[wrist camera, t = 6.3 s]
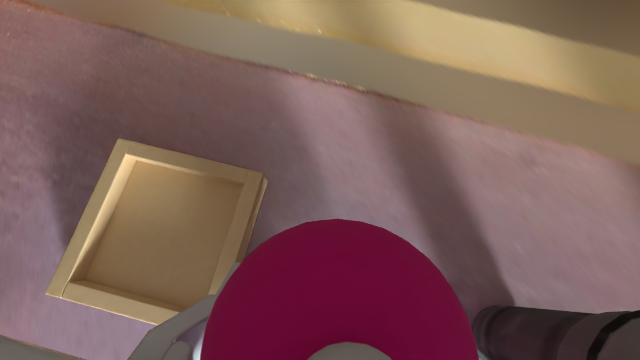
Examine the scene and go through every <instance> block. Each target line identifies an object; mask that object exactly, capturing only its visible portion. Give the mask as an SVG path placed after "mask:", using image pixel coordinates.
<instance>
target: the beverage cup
mask: <svg viewBox="0 0 640 360" xmlns="http://www.w3.org/2000/svg"><path fill="white" fill-rule="evenodd" d="M472 332H473V335H474V338H475V343H476V348H477V352H478V354H479V356H480V357H481V358H482V359H483V360H640V310H638V311H634V312H630V311H622V312H604V313H600V314H592V313H581V312H569V311H558V310H547V309H536V308H524V307H513V306H505V307H500V306H493V307H488V308H486V309H484V310H483V311H481V312H480V313H479V314H478V316H477V317H476V318H475V320H474V323H473V327H472Z"/></svg>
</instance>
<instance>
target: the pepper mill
mask: <svg viewBox="0 0 640 360" xmlns="http://www.w3.org/2000/svg"><path fill="white" fill-rule="evenodd" d="M200 360H479V359H478V353H477V348H476V343H475V338H474V335H473V332H472V329H471V327H470V324H469V321H468V318H467V315H466V313H465V311H464V309H463V308H462V306H461V304H460V302H459V300H458V298H457V296H456V294H455V292H454V291H453V289H452V287H451V286H450V284H449V283H448V282H447V280H446V279H445V277H444V276H443V275H442V273H441V272H440V270H439V269H438V268H437V267H436V266H435V265H434V264H433V263H432V262H431V260H430V259H429V258H427V257H426V256H425V255H424V254H423V253H421V252H420V251H419V250H418V249H416V248H415V247H414V246H413V245H411V244H410V243H409V242H407V241H406V240H404V239H403V238H401V237H399V236H397V235H395V234H393V233H392V232H390V231H388V230H386V229H384V228H381V227H377V226H374V225H371V224H368V223H364V222H360V221H351V220H343V219H331V220H320V221H312V222H306V223H303V224H300V225H298V226H295V227H292V228H290V229H287V230H285V231H283V232H281V233H279V234H277V235H275V236H273V237H271V238H270V239H268V240H267V241H265V242H264V243H262V244H261V245H259V246H258V247H257V248H256V249H255V250H254V251H253V252H252V253H251V254H250V255H248V256H247V257H246V258H245V259H244V260H243V261H242V263H241V264H240V265H239V266H238V268H237V269H236V270H235V271H234V273H233V274H232V275H231V276H230V278H229V279H228V281H227V282H226V284H225V286H224V287H223V289H222V291H221V292H220V294H219V296H218V297H217V299H216V300H215V303H214V306H213V308H212V311H211V314H210V316H209V319H208V322H207V324H206V328H205V333H204V338H203V343H202V348H201V353H200Z"/></svg>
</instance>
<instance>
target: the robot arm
mask: <svg viewBox="0 0 640 360" xmlns="http://www.w3.org/2000/svg"><path fill="white" fill-rule="evenodd" d="M240 264H241V263H239V262H235V263H234V264H233V266H232V267H231V269H230V271H229V273H228V274H227V276H226V278H225V279H224V281H223V283H222V284H221V286H220V288H219V289H218V291H217V293H216V295H212V294H211V295H209V296H208V297H206V298H204V299H202V300H201V301H199V302H197V303H196V304H194V305H192V306H190V307H189V308H187V309H185V310H184V311H182V312H180V313H178V314H177V315H175V316H173V317H172V318H170V319H168V320H166V321H165V322H163V323H161V324H160V325H158V326H156V327H154V328H153V329H151V330H149V331H148V332H147V334H146V335H145V337H144V338H143V339H142V341H141V342H140V343H139V345H138V346H137V347H136V349H135V350H134V351H133V353H132V354H131V355H130V357H129V358H128V359H127V360H200V353H201V348H202V343H203V338H204V333H205V328H206V324H207V322H208V319H209V316H210V314H211V311H212V308H213V306H214V303H215V300H216V299H217V297H218V296H219V294H220V292H221V291H222V289H223V287H224V286H225V284H226V282H227V281H228V279H229V278H230V276H231V275H232V274H233V273H234V271H235V270H236V269H237V268H238V266H239V265H240ZM0 360H85V359H82V358H78V357H75V356H72V355H68V354H65V353H61V352H58V351H54V350H51V349H47V348H44V347H41V346H37V345H34V344H30V343H27V342H23V341H20V340H17V339H13V338H10V337H6V336H3V335H0Z"/></svg>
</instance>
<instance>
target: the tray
mask: <svg viewBox="0 0 640 360" xmlns="http://www.w3.org/2000/svg"><path fill="white" fill-rule="evenodd" d="M267 183H268V181H267V179H266V177H265V175H264V174H263V173H262V172H258V171H254V170H249V169H245V168H241V167H237V166H233V165H229V164H225V163H220V162H216V161H212V160H208V159H204V158H200V157H196V156H192V155H187V154H183V153H179V152H175V151H171V150H167V149H163V148H159V147H155V146H150V145H146V144H142V143H138V142H134V141H130V140H125V139H121V138H118V140H117V142H116V144H115V146H114V148H113V151H112V153H111V155H110V157H109V159H108V161H107V163H106V165H105V168H104V170H103V172H102V174H101V176H100V178H99V180H98V183H97V185H96V187H95V189H94V191H93V193H92V195H91V197H90V200H89V202H88V204H87V206H86V208H85V210H84V212H83V214H82V217H81V219H80V221H79V223H78V225H77V227H76V229H75V231H74V234H73V236H72V238H71V240H70V242H69V244H68V246H67V249H66V251H65V253H64V255H63V257H62V259H61V261H60V263H59V266H58V268H57V270H56V272H55V274H54V276H53V278H52V280H51V283H50V285H49V287H48V289H47V291H46V294H47V295H51V296H54V297H58V298H62V299H65V300H69V301H73V302H76V303H80V304H83V305H87V306H91V307H94V308H98V309H101V310H105V311H109V312H112V313H116V314H119V315H123V316H127V317H130V318H134V319H137V320H141V321H145V322H148V323H152V324H155V325H160V324H161V323H163V322H165V321H166V320H168V319H170V318H172V317H173V316H175V315H177V314H178V313H180V312H182V311H184V310H185V309H187V308H189V307H190V306H192V305H194V304H196V303H197V302H199V301H201V300H202V299H204V298H206V297H208V296H209V295H211V294H212V295H216V293H217V291H218V289H219V288H220V286H221V284H222V283H223V281H224V279H225V278H226V276H227V274H228V273H229V271H230V269H231V267H232V266H233V264H234V263H235V262H239V263H242V261H243V260H244V258H245V254H246V251H247V248H248V245H249V241H250V238H251V235H252V232H253V228H254V225H255V222H256V219H257V215H258V212H259V209H260V206H261V202H262V199H263V196H264V193H265V189H266V186H267Z"/></svg>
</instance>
